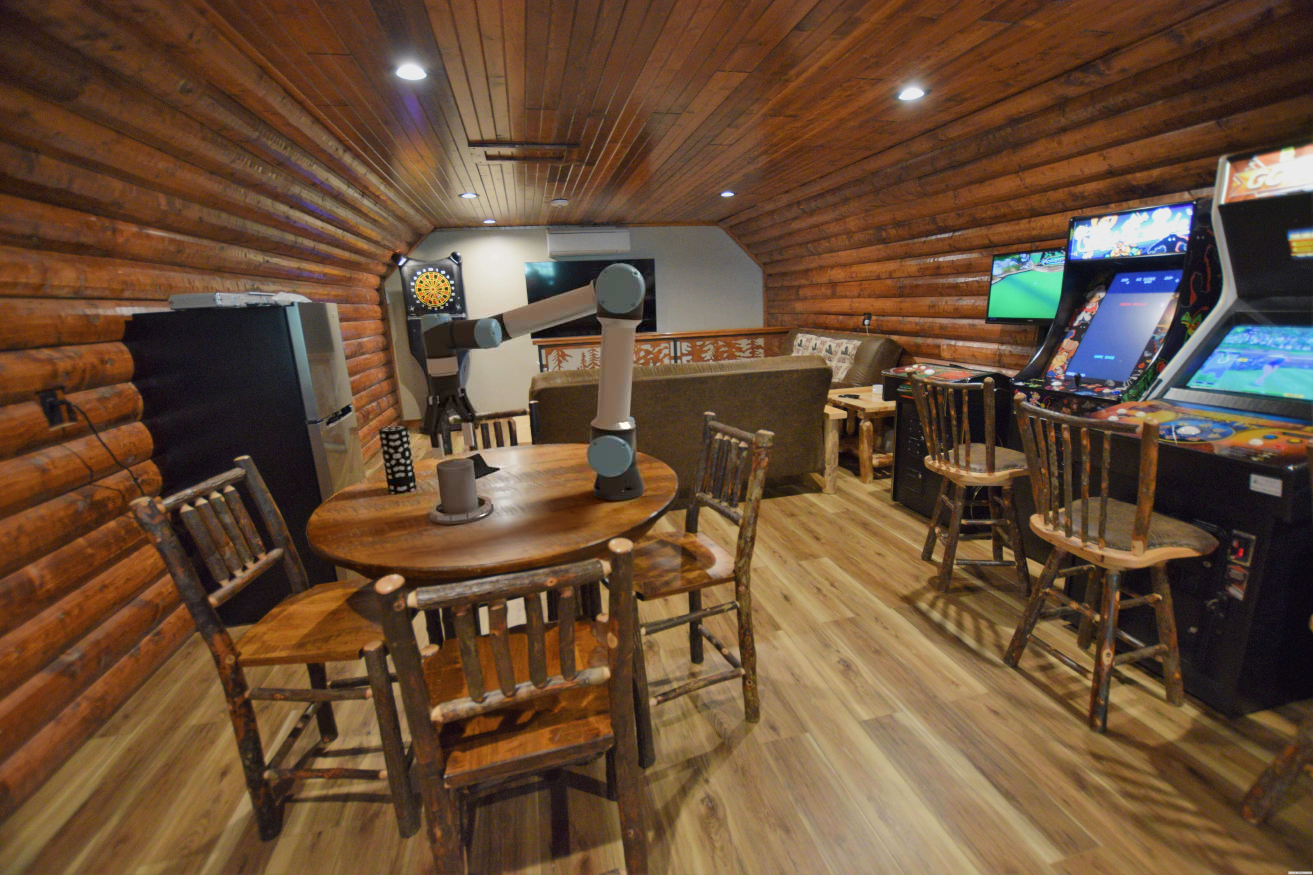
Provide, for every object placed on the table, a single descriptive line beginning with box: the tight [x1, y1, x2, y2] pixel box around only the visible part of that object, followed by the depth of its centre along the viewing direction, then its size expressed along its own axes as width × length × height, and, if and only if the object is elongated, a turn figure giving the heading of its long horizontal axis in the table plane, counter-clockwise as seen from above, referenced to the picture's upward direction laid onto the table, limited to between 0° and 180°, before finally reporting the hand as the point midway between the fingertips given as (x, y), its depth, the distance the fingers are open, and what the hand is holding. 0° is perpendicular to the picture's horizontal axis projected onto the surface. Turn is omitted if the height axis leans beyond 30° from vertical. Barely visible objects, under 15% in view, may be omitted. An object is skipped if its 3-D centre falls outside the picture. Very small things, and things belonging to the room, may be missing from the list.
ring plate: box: [428, 494, 495, 526], centre depth 160 cm, size 17×17×2 cm
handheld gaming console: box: [465, 452, 501, 480], centre depth 198 cm, size 12×7×10 cm
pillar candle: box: [435, 457, 479, 514], centre depth 158 cm, size 10×10×15 cm
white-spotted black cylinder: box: [378, 425, 418, 495], centre depth 181 cm, size 8×8×20 cm
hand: (455, 452), depth 156 cm, fingers open, 13 cm apart
